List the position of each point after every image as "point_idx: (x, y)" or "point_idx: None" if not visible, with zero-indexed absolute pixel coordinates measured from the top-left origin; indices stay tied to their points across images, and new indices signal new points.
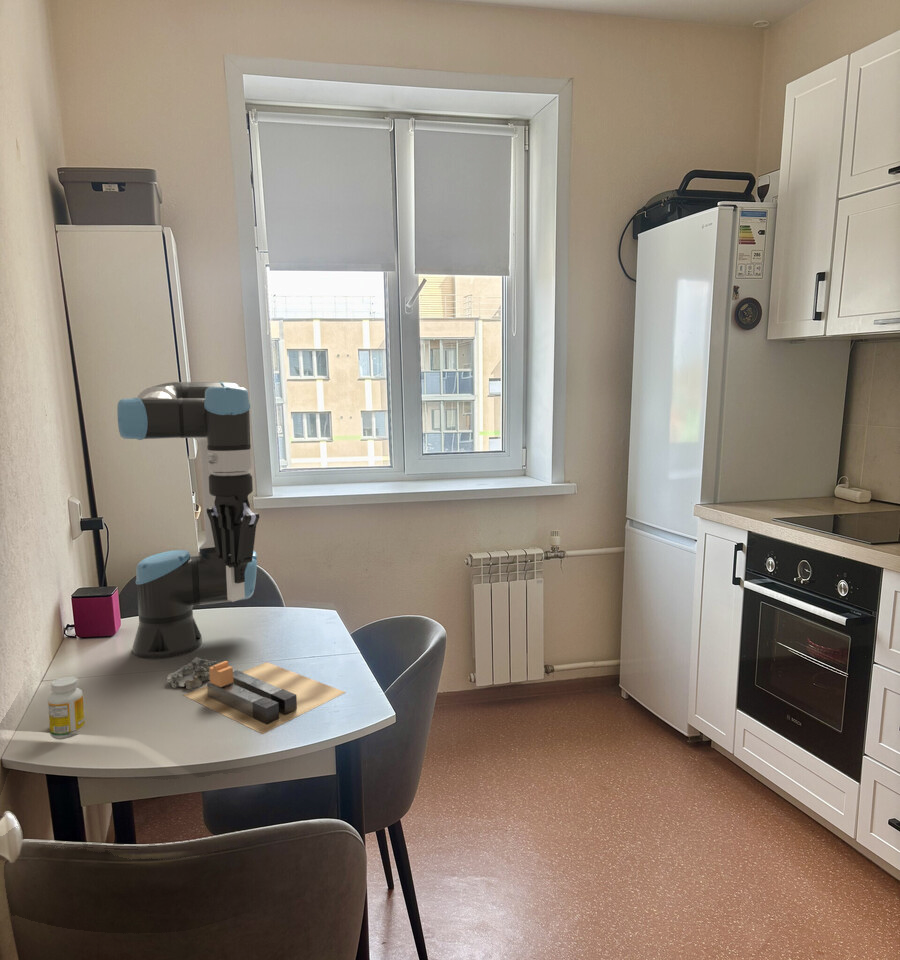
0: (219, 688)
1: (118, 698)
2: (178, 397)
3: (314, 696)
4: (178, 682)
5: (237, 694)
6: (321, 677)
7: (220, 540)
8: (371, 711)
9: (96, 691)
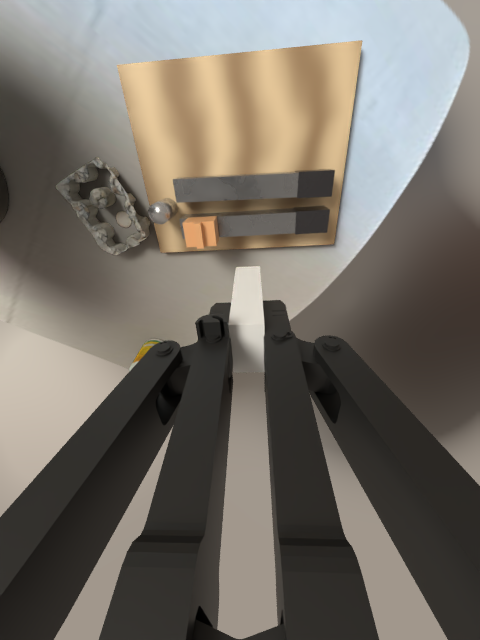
0: None
1: (106, 294)
2: None
3: (319, 109)
4: (130, 247)
5: (255, 233)
6: (246, 3)
7: (147, 453)
8: (435, 51)
9: (70, 302)
